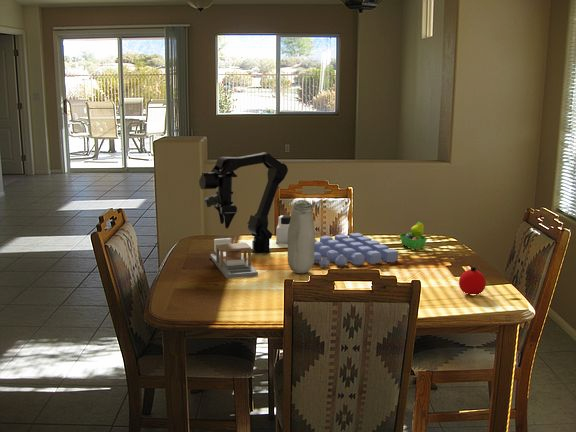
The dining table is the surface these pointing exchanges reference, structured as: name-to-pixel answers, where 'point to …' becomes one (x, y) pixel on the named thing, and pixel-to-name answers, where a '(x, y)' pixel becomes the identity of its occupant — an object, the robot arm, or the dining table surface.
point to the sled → (227, 262)
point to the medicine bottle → (282, 229)
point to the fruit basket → (414, 237)
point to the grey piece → (235, 270)
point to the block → (233, 255)
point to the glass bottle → (301, 238)
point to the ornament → (472, 281)
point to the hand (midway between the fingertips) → (224, 225)
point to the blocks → (351, 250)
